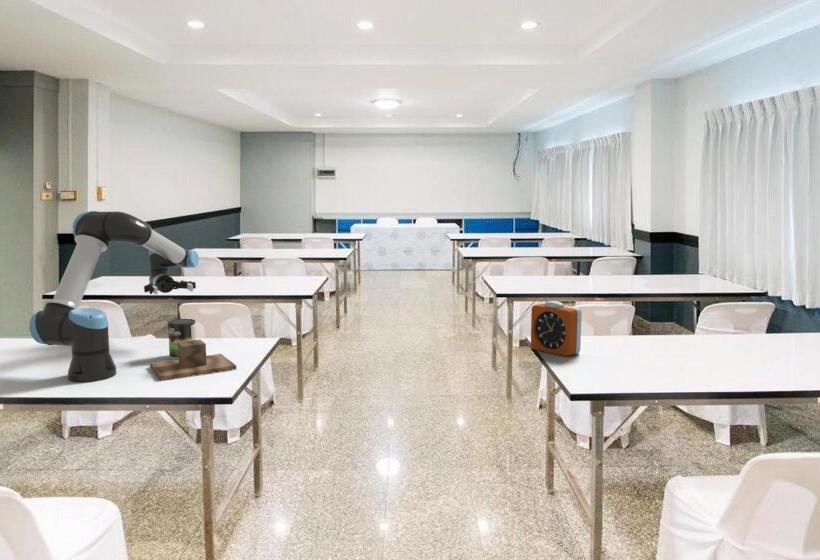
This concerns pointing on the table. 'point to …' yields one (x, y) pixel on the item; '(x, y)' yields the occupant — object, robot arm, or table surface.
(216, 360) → the plinth
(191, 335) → the lidded glass jar
